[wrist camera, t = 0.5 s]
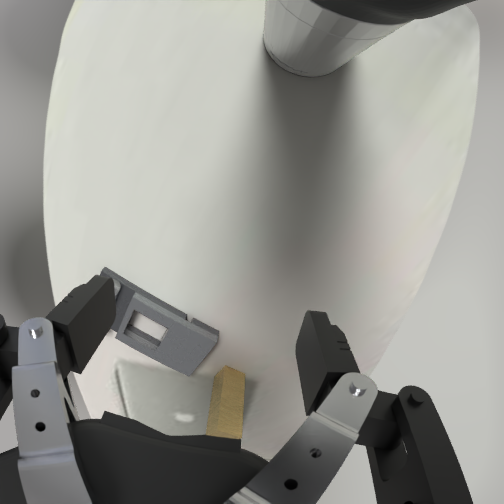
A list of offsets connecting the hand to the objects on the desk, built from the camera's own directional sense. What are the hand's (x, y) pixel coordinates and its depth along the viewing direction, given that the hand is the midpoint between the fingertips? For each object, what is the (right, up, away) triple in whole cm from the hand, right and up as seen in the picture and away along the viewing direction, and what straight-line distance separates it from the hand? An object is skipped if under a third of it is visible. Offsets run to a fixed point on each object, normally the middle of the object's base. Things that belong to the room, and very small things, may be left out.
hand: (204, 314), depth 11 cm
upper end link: (-10, -9, +28) cm, 31 cm away
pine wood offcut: (-2, -17, +31) cm, 36 cm away
